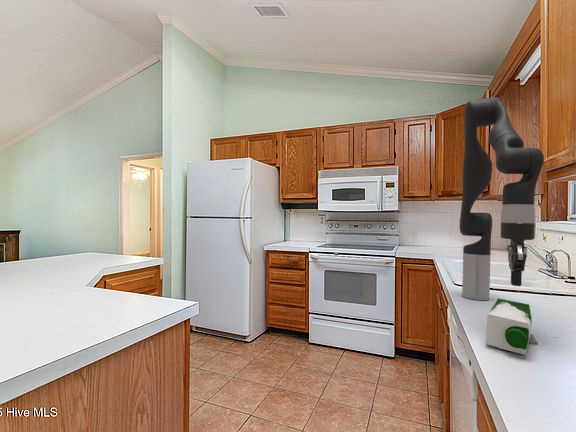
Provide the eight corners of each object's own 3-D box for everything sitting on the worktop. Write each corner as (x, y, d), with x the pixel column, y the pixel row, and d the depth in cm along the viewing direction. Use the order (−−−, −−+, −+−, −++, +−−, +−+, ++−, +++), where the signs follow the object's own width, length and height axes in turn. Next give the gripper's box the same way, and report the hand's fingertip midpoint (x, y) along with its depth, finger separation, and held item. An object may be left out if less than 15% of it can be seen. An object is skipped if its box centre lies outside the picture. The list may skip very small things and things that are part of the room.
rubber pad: (503, 331, 88) (503, 329, 88) (532, 336, 85) (532, 334, 85) (506, 339, 83) (506, 337, 83) (537, 344, 80) (537, 343, 80)
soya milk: (530, 333, 86) (527, 362, 71) (491, 323, 92) (480, 348, 76) (533, 301, 86) (531, 323, 70) (494, 294, 91) (483, 312, 76)
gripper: (498, 221, 94) (496, 279, 94) (504, 221, 82) (502, 288, 82) (529, 221, 91) (528, 282, 91) (540, 222, 79) (538, 292, 79)
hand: (515, 285), depth 87 cm, fingers closed
